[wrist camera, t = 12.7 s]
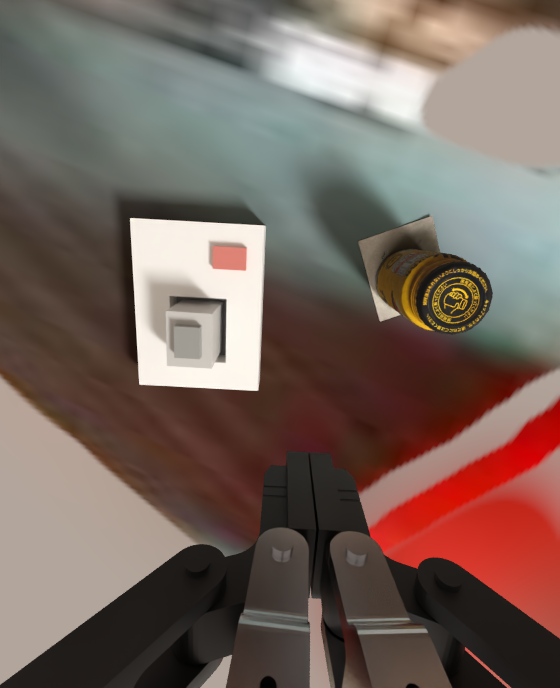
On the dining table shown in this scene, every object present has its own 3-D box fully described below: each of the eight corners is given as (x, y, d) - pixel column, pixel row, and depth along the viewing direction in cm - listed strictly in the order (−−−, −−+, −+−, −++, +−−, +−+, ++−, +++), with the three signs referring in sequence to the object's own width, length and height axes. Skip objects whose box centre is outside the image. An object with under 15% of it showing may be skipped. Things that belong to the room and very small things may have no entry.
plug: (183, 299, 38) (162, 312, 31) (223, 301, 38) (210, 316, 31) (183, 346, 39) (164, 368, 33) (222, 348, 39) (209, 371, 33)
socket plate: (142, 219, 36) (127, 217, 33) (265, 226, 36) (264, 225, 33) (149, 373, 41) (137, 386, 37) (259, 379, 41) (257, 393, 37)
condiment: (379, 321, 39) (419, 358, 27) (357, 241, 37) (391, 245, 25) (448, 298, 38) (519, 327, 27) (431, 215, 36) (500, 208, 24)
